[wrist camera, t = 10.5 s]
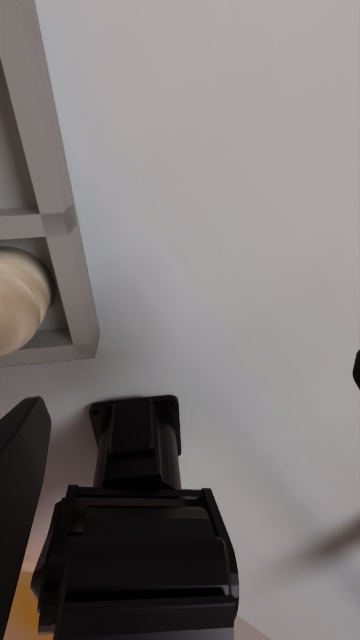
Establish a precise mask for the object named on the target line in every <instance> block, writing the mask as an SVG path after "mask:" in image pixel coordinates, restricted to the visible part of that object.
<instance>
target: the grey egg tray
mask: <svg viewBox="0 0 360 640" xmlns="http://www.w3.org/2000/svg"><path fill="white" fill-rule="evenodd" d="M0 246H13V247H17V248H21V249H23V250H26V251H28V252H30V253H31V254H33V255H35V256H36V257H37V258H39V259H40V260H41V261H42V262H43V263H44V264H45V265H46V267H47V268H48V269H49V271H50V273H51V275H52V277H53V280H54V283H55V297H54V300H53V302H52V304H51V306H50V308H49V310H48V312H47V313H46V315H45V317H44V319H43V321H42V322H41V324H40V326H39V328H38V330H37V332H36V333H35V334H34V336H33V337H32V339H31V340H30V341H29V342H28V343H26V344H25V345H24V346H23V347H21V348H20V349H18V350H16V351H14V352H12V353H9V354H6V355H3V356H0V367H2V366H13V365H24V364H35V363H46V362H57V361H67V360H78V359H89V358H95V355H96V350H97V346H98V341H99V336H100V331H99V326H98V320H97V315H96V310H95V305H94V300H93V295H92V290H91V285H90V280H89V275H88V270H87V265H86V260H85V255H84V250H83V244H82V239H81V234H80V229H79V224H78V219H77V214H76V209H75V204H74V199H73V194H72V189H71V184H70V179H69V173H68V168H67V163H66V158H65V153H64V148H63V143H62V138H61V133H60V128H59V123H58V118H57V113H56V108H55V103H54V97H53V92H52V87H51V82H50V77H49V72H48V67H47V62H46V57H45V52H44V47H43V42H42V37H41V32H40V27H39V21H38V16H37V11H36V6H35V1H34V0H0Z"/></svg>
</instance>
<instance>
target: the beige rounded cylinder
mask: <svg viewBox="0 0 360 640" xmlns="http://www.w3.org/2000/svg"><path fill="white" fill-rule="evenodd" d="M54 297H55V283H54V280H53V277H52V275H51V273H50V271H49V269H48V268H47V267H46V265H45V264H44V263H43V262H42V261H41V260H40V259H39V258H37V257H36V256H35V255H33V254H31V253H30V252H28V251H26V250H23V249H21V248H17V247H13V246H0V356H3V355H6V354H9V353H12V352H14V351H16V350H18V349H20V348H21V347H23V346H24V345H25V344H26V343H28V342H29V341H30V340H31V339H32V337H33V336H34V334H35V333H36V332H37V330H38V328H39V326H40V324H41V322H42V321H43V319H44V317H45V315H46V313H47V312H48V310H49V308H50V306H51V304H52V302H53V300H54Z"/></svg>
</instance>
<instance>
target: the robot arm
mask: <svg viewBox="0 0 360 640" xmlns="http://www.w3.org/2000/svg"><path fill="white" fill-rule="evenodd" d="M353 378H354V381H355V382H356V384H357V386H358V388H359V389H360V350H359V351H358V352H357V354H356V359H355V363H354V368H353ZM170 402H173V403H170ZM95 410H98V411H95ZM89 415H90V419H91V423H92V427H93V431H94V435H95V438H96V442H97V446H98V454H97V461H96V468H95V475H94V482H93V487H78V485H68V489H67V493H66V497H65V498H62V500H61V501H60V502H58V503H56V504H55V507H54V511H53V515H52V520H51V524H50V528H49V531H48V535H47V538H46V540H45V543H44V546H43V548H42V551H41V554H40V556H39V559H38V562H37V565H36V567H35V570H34V573H33V576H32V581H31V590H32V592H33V593H34V595H35V597H36V598H37V600H38V609H37V610H38V611H37V612H38V613H40V616H39V625H38V634H39V635H43V634H52V633H54V637H53V640H234V620H235V618H236V615H237V611H238V603H239V579H238V569H237V562H236V558H235V553H234V549H233V546H232V543H231V541H230V538H229V535H228V533H227V530H226V527H225V525H224V522H223V520H222V517H221V514H220V512H219V509H218V506H217V504H216V501H215V499H214V496H213V493H212V491H211V489H210V488H202V489H201V490H192V489H181V480H180V471H179V462H178V456H180V455H181V438H180V420H179V403H178V398H177V397H176V396H162V397H152V398H143V399H133V400H123V401H113V402H104V403H95V404H92V405H91V406H90V409H89ZM50 431H51V418H50V415H49V413H48V410H47V408H46V405H45V403H44V401H43V399H42V398H41V397H40V396H36V397H29V398H25V399H23V400H22V401H21V402H20V403H19V404H17V405H16V406H15V407H14V408H13V409H12V410H11V411H10V412H8V413H7V414H6V415H5V416H4V417H3V418H2V419H0V640H3V637H4V634H5V630H6V626H7V622H8V618H9V614H10V610H11V606H12V602H13V599H14V595H15V591H16V587H17V583H18V579H19V574H20V571H21V567H22V563H23V559H24V555H25V551H26V547H27V543H28V539H29V535H30V532H31V528H32V524H33V520H34V516H35V512H36V508H37V504H38V500H39V496H40V492H41V488H42V484H43V479H44V473H45V467H46V460H47V452H48V445H49V438H50Z"/></svg>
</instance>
